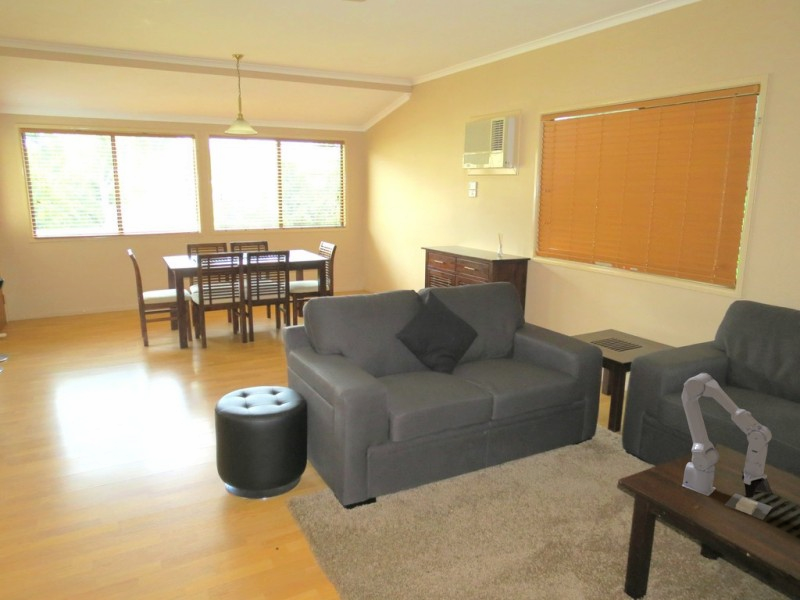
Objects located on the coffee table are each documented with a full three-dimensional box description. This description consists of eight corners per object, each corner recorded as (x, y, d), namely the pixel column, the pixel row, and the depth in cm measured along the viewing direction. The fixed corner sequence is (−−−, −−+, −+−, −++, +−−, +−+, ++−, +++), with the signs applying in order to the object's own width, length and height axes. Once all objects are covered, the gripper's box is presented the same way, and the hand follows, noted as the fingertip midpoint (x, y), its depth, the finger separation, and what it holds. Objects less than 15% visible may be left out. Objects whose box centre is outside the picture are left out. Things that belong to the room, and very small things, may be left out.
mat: (724, 506, 200) (724, 505, 200) (735, 494, 208) (735, 493, 208) (762, 520, 191) (762, 519, 191) (772, 507, 200) (772, 506, 200)
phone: (748, 489, 211) (741, 470, 224) (747, 491, 211) (740, 473, 224) (772, 493, 208) (764, 474, 221) (772, 496, 208) (763, 477, 221)
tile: (741, 502, 202) (735, 509, 197) (742, 497, 202) (736, 504, 197) (757, 507, 199) (751, 515, 194) (758, 502, 198) (752, 510, 193)
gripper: (762, 471, 188) (756, 507, 190) (774, 458, 197) (768, 492, 200) (739, 463, 193) (733, 499, 195) (751, 450, 202) (746, 485, 205)
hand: (749, 495), depth 198 cm, fingers closed
